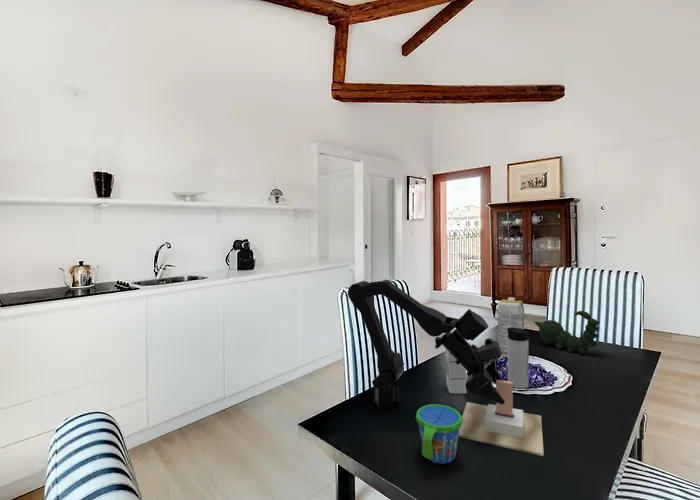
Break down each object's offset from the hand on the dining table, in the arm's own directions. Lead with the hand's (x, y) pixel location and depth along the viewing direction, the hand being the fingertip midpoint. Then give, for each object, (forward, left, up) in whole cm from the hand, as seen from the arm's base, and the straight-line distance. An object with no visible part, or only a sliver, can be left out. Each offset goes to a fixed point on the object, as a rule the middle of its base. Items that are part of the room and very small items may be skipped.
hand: (504, 395), depth 95 cm
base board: (0, 0, -9) cm, 9 cm away
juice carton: (+37, +41, -9) cm, 56 cm away
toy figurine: (+63, +40, -9) cm, 75 cm away
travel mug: (+20, +18, -9) cm, 28 cm away
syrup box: (0, +23, -9) cm, 25 cm away
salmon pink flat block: (0, 0, -5) cm, 5 cm away
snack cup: (-22, -4, -9) cm, 25 cm away
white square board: (0, 0, -9) cm, 9 cm away
